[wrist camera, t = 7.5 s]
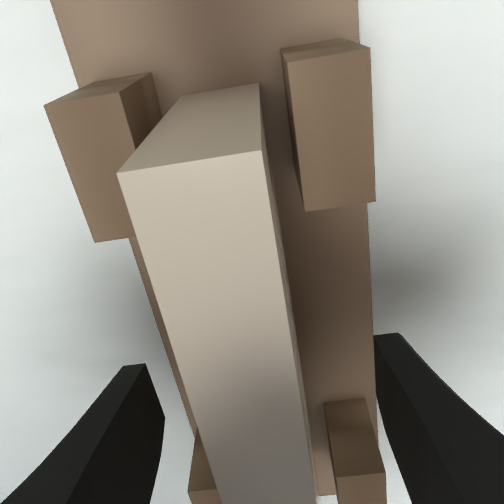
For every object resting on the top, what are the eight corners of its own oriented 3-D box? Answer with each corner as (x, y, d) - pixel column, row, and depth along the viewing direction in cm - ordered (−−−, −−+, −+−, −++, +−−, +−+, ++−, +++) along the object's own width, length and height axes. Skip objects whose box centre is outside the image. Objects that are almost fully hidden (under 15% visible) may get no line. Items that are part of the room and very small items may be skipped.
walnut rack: (218, 483, 20) (210, 583, 17) (56, -28, 11) (-37, -45, 8) (374, 468, 20) (400, 568, 16) (345, -87, 10) (390, -134, 7)
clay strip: (263, 457, 18) (266, 643, 13) (180, 95, 11) (115, 172, 6) (313, 452, 18) (337, 639, 13) (258, 82, 11) (261, 150, 6)
